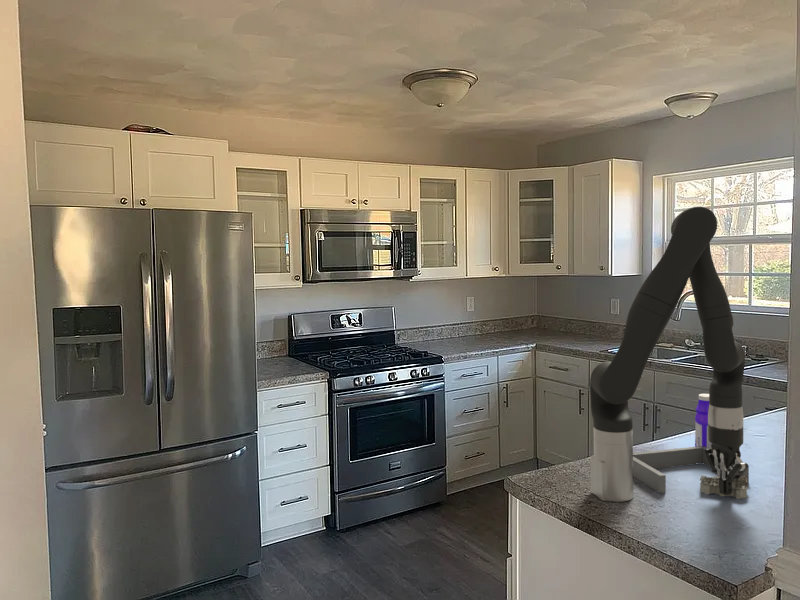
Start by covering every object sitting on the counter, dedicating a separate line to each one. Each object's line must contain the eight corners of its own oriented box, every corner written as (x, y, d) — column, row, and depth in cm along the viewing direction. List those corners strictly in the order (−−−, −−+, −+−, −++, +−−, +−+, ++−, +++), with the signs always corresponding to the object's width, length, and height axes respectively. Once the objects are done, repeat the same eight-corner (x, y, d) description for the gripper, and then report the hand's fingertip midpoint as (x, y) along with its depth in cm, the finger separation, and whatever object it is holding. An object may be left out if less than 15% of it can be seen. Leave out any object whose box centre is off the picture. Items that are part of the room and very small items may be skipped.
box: (660, 493, 155) (660, 475, 155) (623, 469, 172) (623, 454, 172) (748, 483, 159) (748, 466, 159) (703, 461, 177) (703, 445, 176)
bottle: (720, 456, 180) (720, 397, 179) (699, 456, 181) (699, 397, 180) (712, 449, 187) (712, 392, 186) (692, 448, 188) (692, 392, 187)
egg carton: (749, 492, 155) (749, 476, 155) (746, 502, 149) (746, 485, 148) (702, 484, 161) (702, 468, 160) (697, 494, 154) (697, 478, 154)
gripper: (693, 417, 154) (694, 485, 155) (730, 432, 141) (730, 506, 142) (721, 415, 155) (721, 482, 157) (759, 429, 142) (759, 502, 144)
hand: (725, 493), depth 150 cm, fingers closed
